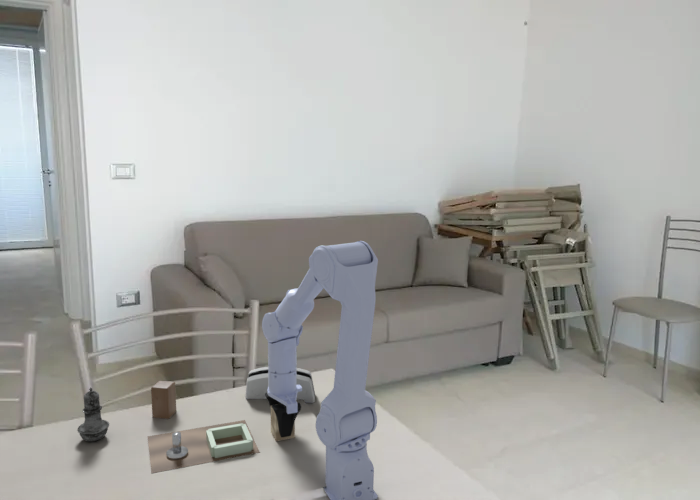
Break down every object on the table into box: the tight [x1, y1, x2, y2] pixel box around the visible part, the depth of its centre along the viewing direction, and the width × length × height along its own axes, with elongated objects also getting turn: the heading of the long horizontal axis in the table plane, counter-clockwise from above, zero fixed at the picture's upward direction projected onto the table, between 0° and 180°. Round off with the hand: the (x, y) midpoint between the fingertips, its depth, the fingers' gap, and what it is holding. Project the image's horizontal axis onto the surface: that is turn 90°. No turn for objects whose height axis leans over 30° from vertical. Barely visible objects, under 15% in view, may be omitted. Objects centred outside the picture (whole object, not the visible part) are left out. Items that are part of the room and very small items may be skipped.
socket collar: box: [206, 423, 254, 458], centre depth 111 cm, size 8×8×2 cm
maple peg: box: [270, 405, 296, 442], centre depth 115 cm, size 4×4×7 cm
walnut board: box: [147, 419, 261, 474], centre depth 112 cm, size 14×20×1 cm
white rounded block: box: [244, 366, 316, 404], centre depth 133 cm, size 17×5×10 cm, turn 91°
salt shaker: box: [76, 386, 110, 442], centre depth 112 cm, size 6×6×12 cm
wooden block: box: [150, 380, 177, 420], centre depth 123 cm, size 4×4×8 cm
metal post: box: [166, 431, 188, 460], centre depth 107 cm, size 4×4×4 cm
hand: (282, 430), depth 116 cm, fingers closed on maple peg, 4 cm apart
